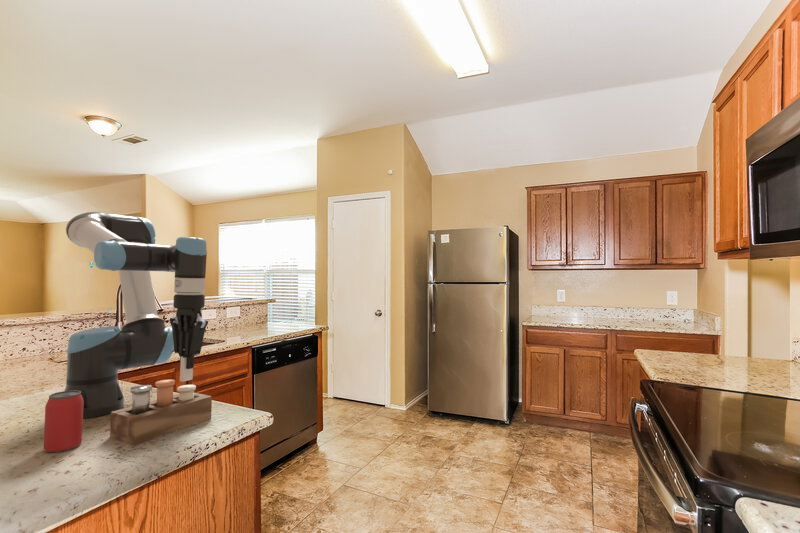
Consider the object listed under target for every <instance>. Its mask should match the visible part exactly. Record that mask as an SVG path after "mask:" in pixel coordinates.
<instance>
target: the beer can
mask: <svg viewBox="0 0 800 533" xmlns="http://www.w3.org/2000/svg"><path fill="white" fill-rule="evenodd" d="M45 403H46V404H45V406H44V425H43V426H44V427H43V429H44V430H43V447H42V448H43V450H44V452H46V453H61V452H62V453H63V452H66V451H69V450H73V449H75V448H76V447H79V446H80V445H81V444H82V442H83V426H84V425H83V424H84V423H83V422H84V419H83V404H84V400H83V397H82V395H81V391H78V390H71V391H65V390H63V391H58V392H55V393H52V394H50V395H49V396H48V399H47V401H46V402H45Z"/></svg>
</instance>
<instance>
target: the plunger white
mask: <svg viewBox="0 0 800 533" xmlns="http://www.w3.org/2000/svg"><path fill="white" fill-rule="evenodd" d="M196 390H197V385H195V384H183V385H180V386H178V387H177V392H178V394H179V400H181V401H186V400H190V399H193V398H194V393H195V391H196Z"/></svg>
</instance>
